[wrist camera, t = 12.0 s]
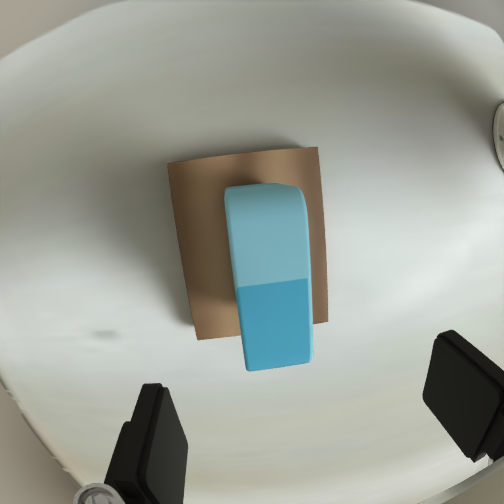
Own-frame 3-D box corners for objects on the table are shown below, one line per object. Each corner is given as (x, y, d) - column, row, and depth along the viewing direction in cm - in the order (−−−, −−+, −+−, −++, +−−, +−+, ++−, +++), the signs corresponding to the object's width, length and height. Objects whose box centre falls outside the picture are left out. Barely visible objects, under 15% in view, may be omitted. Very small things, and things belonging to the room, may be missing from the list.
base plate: (309, 149, 31) (317, 146, 28) (320, 310, 35) (328, 321, 32) (172, 164, 30) (167, 163, 27) (199, 327, 34) (197, 340, 32)
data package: (224, 186, 28) (223, 195, 16) (273, 181, 28) (306, 187, 17) (239, 308, 31) (247, 381, 19) (284, 302, 31) (314, 371, 20)
